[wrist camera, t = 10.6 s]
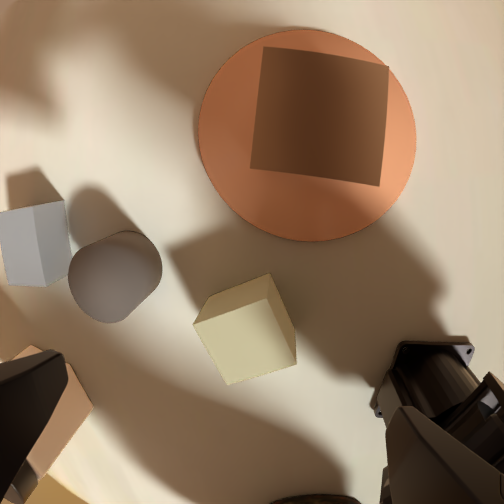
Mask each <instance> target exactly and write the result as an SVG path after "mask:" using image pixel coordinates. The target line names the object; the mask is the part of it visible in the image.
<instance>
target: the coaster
mask: <svg viewBox="0 0 504 504" xmlns="http://www.w3.org/2000/svg"><path fill="white" fill-rule="evenodd" d="M263 46H264V47H277V48H287V49H296V50H304V51H312V52H319V53H325V54H332V55H337V56H343V57H348V58H354V59H359V60H363V61H368V62H372V63H377V64H381V65H385V64H384V63H383V62H382V61H381V60H380V59H378V58H377V57H376V56H375V55H374V54H373V53H371V52H370V51H368V50H367V49H365V48H364V47H362V46H361V45H359V44H357V43H355V42H353V41H351V40H349V39H347V38H344V37H341V36H338V35H335V34H331V33H327V32H322V31H314V30H291V31H285V32H279V33H275V34H272V35H268V36H265V37H263V38H260V39H258V40H256V41H254V42H252V43H250V44H248V45H247V46H245V47H244V48H242V49H240V50H239V51H238V52H237V53H235V54H234V55H233V56H232V57H231V58H229V59H228V61H227V62H226V63H225V64H224V65H223V66H222V67H221V68H220V69H219V71H218V72H217V74H216V75H215V77H214V78H213V80H212V81H211V83H210V85H209V87H208V89H207V91H206V94H205V97H204V100H203V103H202V106H201V111H200V116H199V127H198V137H199V148H200V152H201V157H202V161H203V164H204V166H205V169H206V172H207V174H208V176H209V178H210V180H211V182H212V184H213V186H214V188H215V189H216V190H217V192H218V193H219V195H220V196H221V197H222V199H223V200H224V201H225V202H226V203H227V204H228V205H229V206H230V207H231V209H232V210H233V211H235V212H236V213H237V214H238V215H239V216H241V217H242V218H243V219H244V220H246V221H248V222H249V223H251V224H252V225H254V226H255V227H257V228H259V229H261V230H263V231H266V232H268V233H270V234H273V235H276V236H279V237H282V238H286V239H292V240H297V241H311V242H313V241H327V240H332V239H337V238H341V237H344V236H347V235H350V234H353V233H355V232H357V231H359V230H361V229H363V228H365V227H367V226H369V225H370V224H372V223H373V222H375V221H376V220H377V219H379V218H380V217H381V216H382V215H383V214H384V213H385V212H386V211H388V210H389V208H390V207H391V206H392V205H393V204H394V202H395V201H396V200H397V199H398V197H399V196H400V194H401V192H402V191H403V189H404V187H405V185H406V183H407V181H408V179H409V177H410V174H411V170H412V167H413V164H414V158H415V152H416V129H415V121H414V117H413V113H412V109H411V106H410V103H409V101H408V98H407V96H406V94H405V92H404V90H403V88H402V86H401V85H400V83H399V81H398V80H397V79H396V77H395V76H394V74H393V73H392V72H391V71H390V70H389V83H388V103H387V118H386V130H385V142H384V152H383V161H382V170H381V178H380V186H379V187H377V186H371V185H366V184H360V183H354V182H348V181H341V180H335V179H328V178H321V177H314V176H307V175H300V174H292V173H284V172H275V171H267V170H258V169H250V162H251V152H252V143H253V134H254V125H255V116H256V107H257V98H258V89H259V80H260V72H261V63H262V54H263ZM385 66H386V65H385Z"/></svg>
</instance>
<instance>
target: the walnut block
mask: <svg viewBox="0 0 504 504" xmlns="http://www.w3.org/2000/svg"><path fill="white" fill-rule="evenodd" d="M388 83H389V66H385V65H381V64H377V63H372V62H368V61H363V60H359V59H354V58H348V57H343V56H337V55H332V54H325V53H319V52H312V51H304V50H296V49H287V48H277V47H264V46H263V54H262V63H261V72H260V80H259V89H258V98H257V107H256V116H255V125H254V134H253V143H252V152H251V162H250V169H258V170H267V171H275V172H284V173H292V174H300V175H307V176H314V177H321V178H328V179H335V180H341V181H348V182H354V183H360V184H366V185H371V186H377V187H379V186H380V178H381V170H382V161H383V152H384V142H385V130H386V118H387V103H388Z"/></svg>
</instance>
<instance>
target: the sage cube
mask: <svg viewBox="0 0 504 504" xmlns="http://www.w3.org/2000/svg"><path fill="white" fill-rule="evenodd" d="M193 326H194V328H195V330H196V332H197V334H198V336H199V337H200V339H201V341H202V343H203V345H204V346H205V348H206V350H207V352H208V353H209V355H210V357H211V359H212V360H213V362H214V364H215V366H216V367H217V369H218V371H219V373H220V374H221V376H222V378H223V379H224V381H225V383H226V384H227V385H230V384H233V383H237V382H241V381H244V380H248V379H251V378H254V377H258V376H261V375H264V374H268V373H271V372H274V371H277V370H281V369H284V368H287V367H290V366H293V365H296V364H297V361H296V341H295V329H294V327H293V324H292V322H291V320H290V317H289V315H288V313H287V311H286V308H285V306H284V304H283V301H282V299H281V297H280V295H279V292H278V290H277V288H276V286H275V283H274V281H273V279H272V276H271V274H270V273H268V274H266V275H263V276H261V277H258V278H256V279H253V280H251V281H248V282H245V283H243V284H240V285H238V286H235V287H232V288H230V289H227V290H225V291H222V292H219V293H217V294H214V295H212V296H209V298H208V299H207V301H206V303H205V304H204V306H203V308H202V310H201V311H200V313H199V315H198V316H197V318H196V320H195V322H194V323H193Z"/></svg>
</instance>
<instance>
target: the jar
mask: <svg viewBox="0 0 504 504" xmlns="http://www.w3.org/2000/svg"><path fill="white" fill-rule="evenodd" d="M40 352H43V351H42V350H40V349H38V348H36V347H34V346H32V345H30V346H28V347H27V348H26V349H25V350H23V351H22V352H21V353H20V354H18V355H17V356H16V357H15V358H13V359H12V360H15V359H18V358H22V357H26V356H29V355H33V354H36V353H40ZM65 363H66V362H65ZM66 368H67V372H68V384H67V386H66V388H65V390H64V392H63V394H62V396H61V398H60V400H59V402H58V404H57V406H56V408H55V410H54V412H53V414H52V416H51V418H50V420H49V422H48V424H47V425H46V427H45V429H44V430H43V432H42V433H41V435H40V437H39V438H38V440H37V441H36V443H35V445H34V446H33V448H32V450H31V451H30V453H29V455H28V456H27V458H26V460H25V461H24V463H23V465H22V466H21V468H20V470H19V471H18V473H17V475H16V477H15V478H14V480H13V482H12V484H11V485H10V487H9V489H8V491H7V493H6V494H5V496H4V498H5V499H7V500H8V501H10V502H12V503H14V504H24V503H25V502H26V500H27V499H28V497H29V496H30V495H31V493H32V492H33V490H34V489H35V488H36V486H37V485H38V481H39V480H41V479H42V478H43V477H44V476H45V474H46V473H47V471H48V470H49V469H50V467H51V466H52V464H53V463H54V462H55V460H56V459H57V458H58V456H59V455H60V453H61V452H62V451H63V449H64V448H65V446H66V445H67V444H68V442H69V441H70V440H71V438H72V437H73V435H74V434H75V433H76V431H77V430H78V429H79V427H80V426H81V425H82V423H83V422H84V421H85V419H86V418H87V416H88V415H89V414H90V412H91V411H92V410H93V405H92V403H91V401H90V400H89V398H88V396H87V394H86V393H85V391H84V389H83V388H82V386H81V384H80V382H79V380H78V379H77V377H76V375H75V373H74V371H73V369H72V368H71V366H70V365H69V364H68V363H66Z"/></svg>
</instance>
